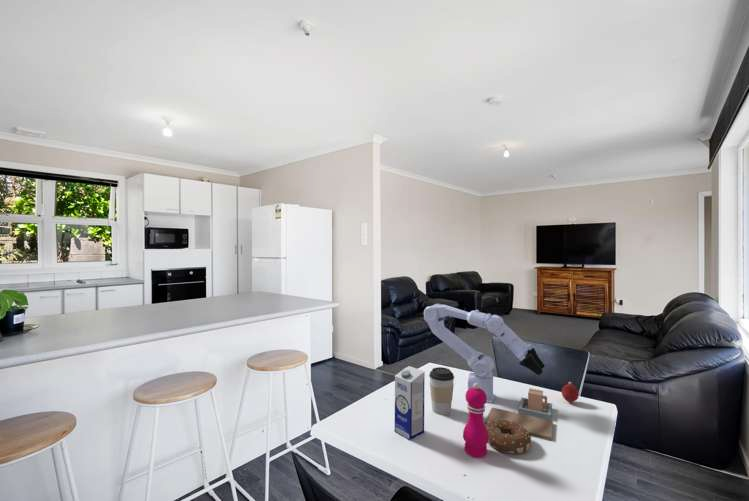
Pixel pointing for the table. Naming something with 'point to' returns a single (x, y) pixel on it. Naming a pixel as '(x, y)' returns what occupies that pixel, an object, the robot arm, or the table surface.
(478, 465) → the table surface
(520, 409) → the collar
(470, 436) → the pepper mill
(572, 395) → the onion
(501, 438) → the donut
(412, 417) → the milk carton
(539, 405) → the peach cube with handle
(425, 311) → the robot arm
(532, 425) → the board
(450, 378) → the coffee cup
